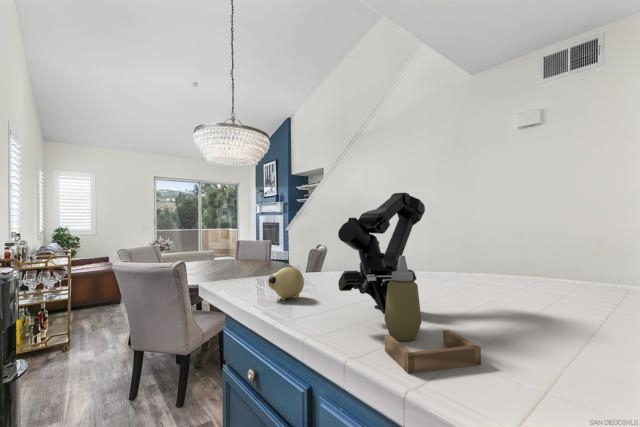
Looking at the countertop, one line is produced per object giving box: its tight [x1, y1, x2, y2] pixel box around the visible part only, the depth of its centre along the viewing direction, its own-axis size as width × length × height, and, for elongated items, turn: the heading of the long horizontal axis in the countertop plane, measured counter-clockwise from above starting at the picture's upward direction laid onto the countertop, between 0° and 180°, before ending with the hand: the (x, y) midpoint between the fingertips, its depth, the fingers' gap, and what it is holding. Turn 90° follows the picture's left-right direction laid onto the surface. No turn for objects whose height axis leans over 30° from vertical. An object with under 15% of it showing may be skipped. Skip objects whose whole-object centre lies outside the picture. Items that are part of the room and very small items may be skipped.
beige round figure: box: [267, 266, 305, 301], centre depth 101 cm, size 10×12×11 cm
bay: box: [384, 329, 482, 374], centre depth 57 cm, size 9×14×3 cm, turn 103°
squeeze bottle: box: [383, 255, 423, 342], centre depth 68 cm, size 8×8×18 cm
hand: (385, 313), depth 70 cm, fingers closed
